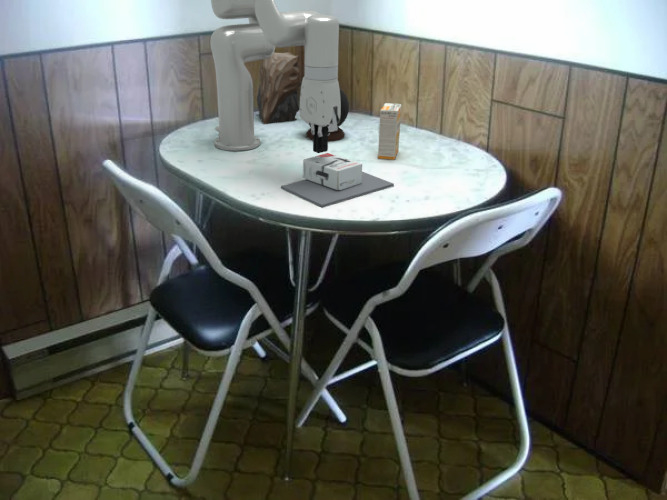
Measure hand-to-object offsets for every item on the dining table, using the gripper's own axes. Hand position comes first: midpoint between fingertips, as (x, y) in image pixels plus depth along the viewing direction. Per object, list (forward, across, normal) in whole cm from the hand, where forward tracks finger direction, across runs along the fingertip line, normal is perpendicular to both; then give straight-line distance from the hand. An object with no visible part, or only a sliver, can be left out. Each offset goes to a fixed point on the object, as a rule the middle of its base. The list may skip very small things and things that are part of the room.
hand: (320, 151), depth 164 cm
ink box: (+4, -2, 0) cm, 5 cm away
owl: (+7, -52, +24) cm, 58 cm away
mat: (+7, +6, 0) cm, 10 cm away
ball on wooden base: (+7, -28, +25) cm, 38 cm away
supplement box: (+7, -4, +27) cm, 28 cm away
